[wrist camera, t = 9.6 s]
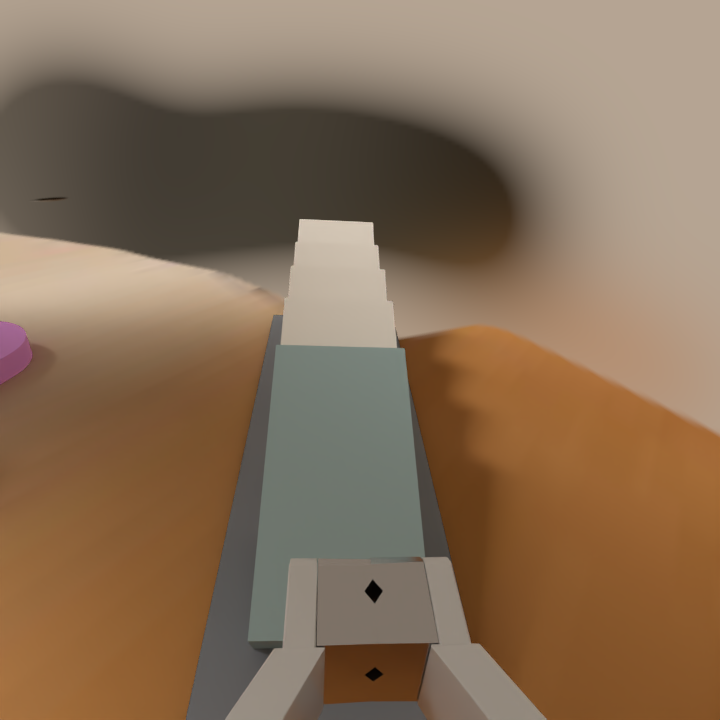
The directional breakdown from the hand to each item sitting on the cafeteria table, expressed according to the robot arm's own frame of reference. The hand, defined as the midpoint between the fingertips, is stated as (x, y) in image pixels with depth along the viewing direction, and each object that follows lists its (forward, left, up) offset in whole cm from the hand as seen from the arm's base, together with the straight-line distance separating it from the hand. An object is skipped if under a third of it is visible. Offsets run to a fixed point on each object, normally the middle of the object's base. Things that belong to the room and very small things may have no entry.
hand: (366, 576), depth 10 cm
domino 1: (-2, +1, -6) cm, 6 cm away
